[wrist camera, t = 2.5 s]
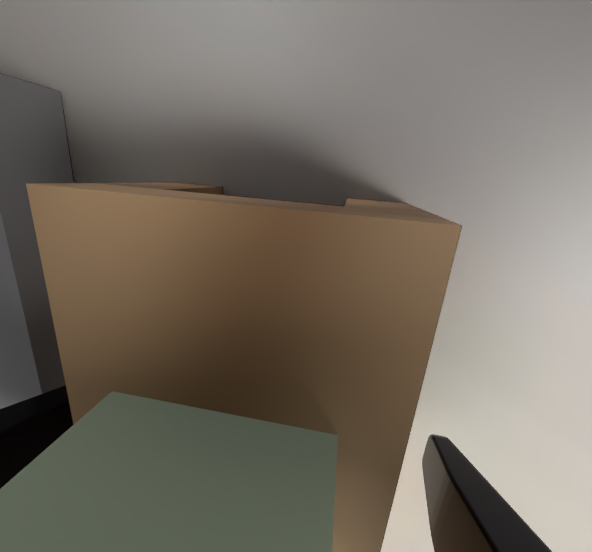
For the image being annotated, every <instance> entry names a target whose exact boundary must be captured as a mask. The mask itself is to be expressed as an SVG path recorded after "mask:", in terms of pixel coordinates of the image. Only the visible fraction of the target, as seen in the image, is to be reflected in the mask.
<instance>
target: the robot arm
mask: <svg viewBox="0 0 592 552" xmlns="http://www.w3.org/2000/svg"><path fill="white" fill-rule="evenodd" d="M73 425H74V424H73V419H72V414H71V409H70V404H69V399H68V394H67V389H66V385H65V386H62V387H59V388H57V389H54V390H51V391H48V392H46V393H43V394H40V395H38V396H35V397H32V398H29V399H27V400H24V401H21V402H18V403H16V404H13V405H10V406H7V407H5V408H2V409H0V489H1V488H2V487H3V486H4V485H5V484H6V483H8V482H9V481H10V480H11V479H12V478H13V477H14V476H16V475H17V474H18V473H19V472H20V471H21V470H22V469H24V468H25V467H26V466H27V465H28V464H29V463H30V462H32V461H33V460H34V459H35V458H36V457H37V456H38V455H40V454H41V453H42V452H43V451H44V450H45V449H46V448H48V447H49V446H50V445H51V444H52V443H53V442H54V441H56V440H57V439H58V438H59V437H60V436H61V435H62V434H64V433H65V432H66V431H67V430H68V429H69V428H71V427H72V426H73ZM422 467H423V476H424V483H425V491H426V499H427V507H428V515H429V523H430V530H431V536H432V541H433V546H434V551H435V552H552V551H551V550H550V549H549V548H548V547H547V546H546V545H545V543H544V542H543V541H542V540H541V539H540V538H539V537H538V536H537V535H536V534H535V533H534V531H533V530H532V529H531V528H530V527H529V526H528V525H527V524H526V523H525V522H524V521H523V519H522V518H521V517H520V516H519V515H518V514H517V513H516V512H515V511H514V510H513V509H512V507H511V506H510V505H509V504H508V503H507V502H506V501H505V500H504V499H503V498H502V496H501V495H500V494H499V493H498V492H497V491H496V490H495V489H494V488H493V487H492V486H491V484H490V483H489V482H488V481H487V480H486V479H485V478H484V477H483V476H482V475H481V474H480V472H479V471H478V470H477V469H476V468H475V467H474V466H473V465H472V464H471V463H470V462H469V460H468V459H467V458H466V457H465V456H464V455H463V454H462V453H461V452H460V451H459V449H458V448H457V447H456V446H455V445H454V444H453V443H452V442H451V441H450V440H449V439H448V438H447V437H444V436H439V435H433V434H432V435H430V436H429V438H428V441H427V444H426V448H425V452H424V455H423V460H422Z"/></svg>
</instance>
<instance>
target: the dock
mask: <svg viewBox="0 0 592 552" xmlns="http://www.w3.org/2000/svg"><path fill="white" fill-rule="evenodd" d="M31 183H74V182H73V175H72V168H71V161H70V155H69V148H68V141H67V134H66V128H65V121H64V114H63V108H62V101H61V94H60V91H56V90H53V89H50V88H47V87H43V86H40V85H37V84H34V83H30V82H27V81H24V80H21V79H17V78H14V77H11V76H8V75H4V74H1V73H0V409H2V408H5V407H7V406H10V405H13V404H16V403H18V402H21V401H24V400H27V399H29V398H32V397H35V396H38V395H40V394H43V393H46V392H48V391H51V390H54V389H57V388H59V387H62V386H65V385H66V384H65V379H64V374H63V369H62V364H61V359H60V353H59V348H58V343H57V338H56V333H55V328H54V323H53V318H52V313H51V308H50V303H49V298H48V293H47V288H46V283H45V278H44V273H43V268H42V262H41V257H40V252H39V247H38V242H37V237H36V232H35V227H34V222H33V217H32V212H31V207H30V202H29V197H28V192H27V187H26V184H31Z"/></svg>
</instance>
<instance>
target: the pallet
mask: <svg viewBox="0 0 592 552" xmlns="http://www.w3.org/2000/svg"><path fill="white" fill-rule="evenodd" d="M26 187H27V192H28V197H29V202H30V207H31V212H32V217H33V222H34V227H35V232H36V237H37V242H38V247H39V252H40V257H41V262H42V268H43V273H44V278H45V283H46V288H47V293H48V298H49V303H50V308H51V313H52V318H53V323H54V328H55V333H56V338H57V343H58V348H59V353H60V359H61V364H62V369H63V374H64V379H65V384H66V389H67V394H68V399H69V404H70V409H71V414H72V419H73V424H75V423H76V422H77V421H79V420H80V419H81V418H82V417H83V416H84V415H85V414H87V413H88V412H89V411H90V410H91V409H92V408H93V407H95V406H96V405H97V404H98V403H99V402H100V401H101V400H103V399H104V398H105V397H106V396H107V395H108V394H109V393H111V392H112V391H114V392H119V393H124V394H129V395H134V396H140V397H145V398H150V399H155V400H160V401H165V402H170V403H176V404H181V405H186V406H191V407H196V408H201V409H206V410H211V411H217V412H222V413H227V414H232V415H237V416H242V417H247V418H253V419H258V420H263V421H268V422H273V423H278V424H283V425H288V426H294V427H299V428H304V429H309V430H314V431H319V432H324V433H330V434H335V435H338V443H337V463H336V482H335V501H334V521H333V540H332V552H380V551H381V547H382V543H383V539H384V535H385V531H386V527H387V523H388V519H389V515H390V511H391V507H392V503H393V499H394V495H395V491H396V487H397V483H398V479H399V475H400V471H401V467H402V463H403V459H404V455H405V451H406V447H407V443H408V439H409V435H410V431H411V427H412V423H413V419H414V415H415V411H416V407H417V403H418V399H419V395H420V391H421V387H422V383H423V379H424V375H425V372H426V368H427V364H428V360H429V356H430V352H431V348H432V344H433V340H434V336H435V332H436V328H437V324H438V320H439V316H440V312H441V308H442V304H443V300H444V296H445V292H446V288H447V284H448V280H449V276H450V272H451V268H452V264H453V260H454V256H455V252H456V248H457V244H458V240H459V236H460V232H461V228H462V226H461V225H459V224H456V223H454V222H451V221H449V220H446V219H444V218H441V217H439V216H437V215H434V214H432V213H429V212H427V211H424V210H422V209H419V208H417V207H414V206H412V205H409V204H407V203H399V202H388V201H377V200H365V199H354V198H347V199H346V203H345V207H344V206H334V205H323V204H312V203H302V202H291V201H280V200H269V199H259V198H248V197H237V196H227V195H223V187H219V186H208V185H197V184H186V183H175V182H154V183H31V184H26Z"/></svg>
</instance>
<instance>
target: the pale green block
mask: <svg viewBox="0 0 592 552" xmlns="http://www.w3.org/2000/svg"><path fill="white" fill-rule="evenodd" d="M337 443H338V435H335V434H330V433H324V432H319V431H314V430H309V429H304V428H299V427H294V426H288V425H283V424H278V423H273V422H268V421H263V420H258V419H253V418H247V417H242V416H237V415H232V414H227V413H222V412H217V411H211V410H206V409H201V408H196V407H191V406H186V405H181V404H176V403H170V402H165V401H160V400H155V399H150V398H145V397H140V396H134V395H129V394H124V393H119V392H114V391H112V392H111V393H109V394H108V395H107V396H106V397H105V398H104V399H103V400H101V401H100V402H99V403H98V404H97V405H96V406H95V407H93V408H92V409H91V410H90V411H89V412H88V413H87V414H85V415H84V416H83V417H82V418H81V419H80V420H79V421H77V422H76V423H75V424H74V425H73V426H72V427H71V428H69V429H68V430H67V431H66V432H65V433H64V434H62V435H61V436H60V437H59V438H58V439H57V440H56V441H54V442H53V443H52V444H51V445H50V446H49V447H48V448H46V449H45V450H44V451H43V452H42V453H41V454H40V455H38V456H37V457H36V458H35V459H34V460H33V461H32V462H30V463H29V464H28V465H27V466H26V467H25V468H24V469H22V470H21V471H20V472H19V473H18V474H17V475H16V476H14V477H13V478H12V479H11V480H10V481H9V482H8V483H6V484H5V485H4V486H3V487H2V488H1V489H0V552H332V540H333V521H334V501H335V482H336V463H337Z"/></svg>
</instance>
